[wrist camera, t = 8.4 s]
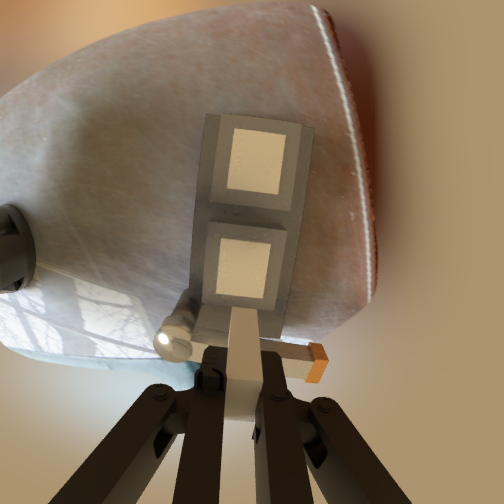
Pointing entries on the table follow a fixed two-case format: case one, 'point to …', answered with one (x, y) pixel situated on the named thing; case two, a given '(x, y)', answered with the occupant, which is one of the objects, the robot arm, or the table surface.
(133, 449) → the robot arm
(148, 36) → the table surface
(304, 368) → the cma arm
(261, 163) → the grey stepped block base
